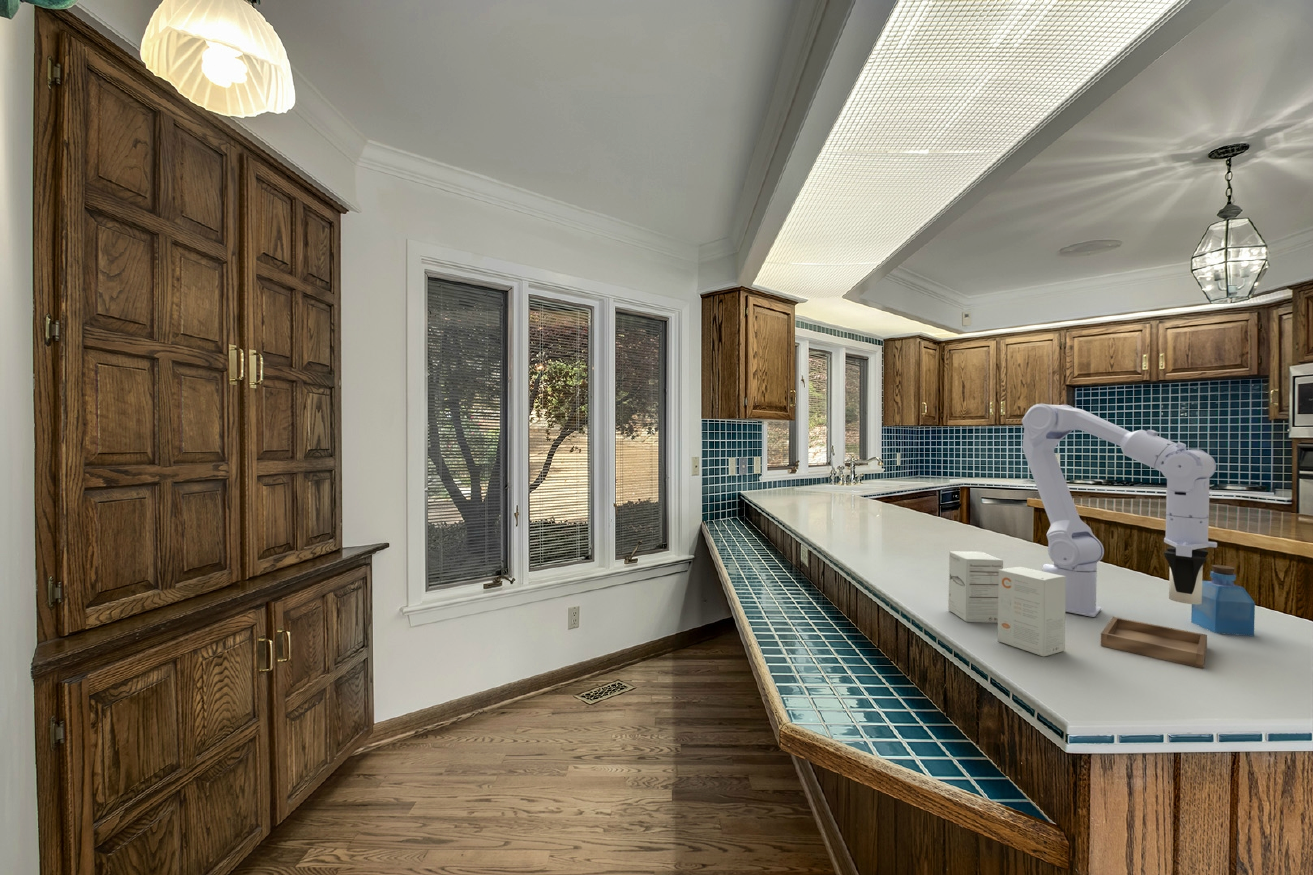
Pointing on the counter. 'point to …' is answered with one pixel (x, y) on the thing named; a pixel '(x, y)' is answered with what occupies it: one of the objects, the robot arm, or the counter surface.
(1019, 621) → the small box
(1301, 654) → the counter surface
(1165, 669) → the counter surface
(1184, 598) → the cylinder
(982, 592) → the supplement box
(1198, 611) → the perfume bottle
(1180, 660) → the walnut tray
